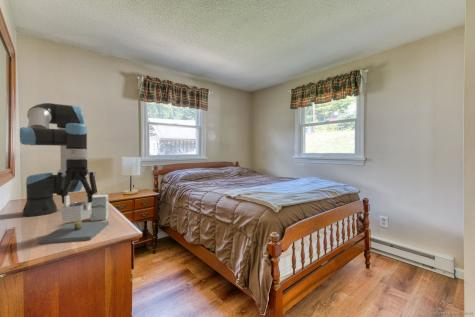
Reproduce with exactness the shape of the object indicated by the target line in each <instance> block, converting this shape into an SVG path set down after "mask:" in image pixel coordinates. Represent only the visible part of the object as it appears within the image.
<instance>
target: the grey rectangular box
mask: <svg viewBox="0 0 475 317" xmlns="http://www.w3.org/2000/svg"><path fill="white" fill-rule="evenodd" d="M91 214H92V202H90V209H89V210H87V211H86V200H85V201H73V202H70V204H69V205H66V206H62V207H61V222H74V221H80V220H81V221H82V220H84V219H86V218H88V217H90V215H91Z"/></svg>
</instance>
